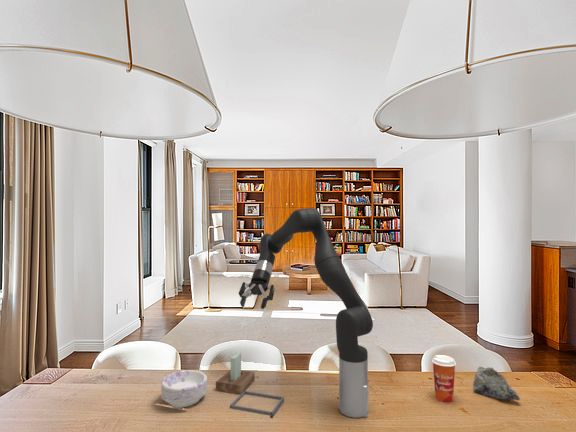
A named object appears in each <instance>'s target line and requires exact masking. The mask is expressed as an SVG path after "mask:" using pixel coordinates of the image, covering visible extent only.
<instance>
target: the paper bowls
mask: <svg viewBox="0 0 576 432" xmlns="http://www.w3.org/2000/svg"><path fill="white" fill-rule="evenodd" d="M160 385H161V387H160V388H161V390H160V392H161V393H160V395H161V399H162V401H164V402H166V403H168V405H170V407H172V408H175V409H183V408H185V407H190V406H194V405H196V404H197V403H198V402H200V400H201V399H202V398H203V397H204V396H205V395H206V394H207V392H208V376H207V374H205V372H202V371H201V370H192V369H187V370H179V371H175V372H172V373H170V374H168V375H166V376H164V377H163V378H162V380H161V383H160Z"/></svg>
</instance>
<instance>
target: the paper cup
mask: <svg viewBox="0 0 576 432" xmlns="http://www.w3.org/2000/svg"><path fill="white" fill-rule="evenodd" d="M431 362H432V366H433V367H432V368H433V382H434V394H435V395H434V396H435V399H436V400H437V399H438V400H437V401H438V402H441V401H442V402H441V403H445V402H450V403H452V402H453V401H454V390H455V389H454V387H455V374H456V371H455V370H456V366H457V363H456V360H455V358H453V357H451V356H449V355H444V354H443V355H442V354H435V355H434V356H433V358H432V360H431Z"/></svg>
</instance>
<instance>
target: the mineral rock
mask: <svg viewBox="0 0 576 432" xmlns="http://www.w3.org/2000/svg"><path fill="white" fill-rule="evenodd" d="M472 385H473V386H472V390H473V391H474V392H475V393H478V394H482V395H484V396H488V397H491V398H495V399H498V398H499V400H508V401H510V400H514V401H520V400H521V397H520V396H519V395H518V394H517V393H516V391H515V390H514V388H512V386H510V385H509V384H508V381H507V379H506V378H505V377H504V375H502V374H501V373H500V372H498V371H497V370H495V369H494V368H493V367H483V366H479V367H478V368H477V370H476V371H475V374H474V378H473V384H472Z"/></svg>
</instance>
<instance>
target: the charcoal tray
mask: <svg viewBox="0 0 576 432" xmlns="http://www.w3.org/2000/svg"><path fill="white" fill-rule="evenodd" d="M245 395H249V396H255V397H260V398H265V399H274V400H279V401H278V402H277V403H276V405H275V406H274V408H273V409H272V410H271V411H269V410H263V409H259V408H258V409H257V408H252V407H246V406H241V405H240V406H239V405H237V403H238V402H240V400H241V399H242V398H243V397H244V396H245ZM284 402H285V397H284V396H280V395H275V394H274V395H273V394H266V393H261V392H253V391H250V390H249V391H248V390H245V391H243V392H242V393H241V395H238V397H236V399H235V400H233V402H232V403H230V405H229V409H234V410H239V411H244V412H248V413H249V412H250V413H255V414H261V415H266V416H270V417H269V418H271V419H274V417H275V416H276V414H277V412H278V411H279V410H280V408H281V407H282V406H283V404H284Z"/></svg>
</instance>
